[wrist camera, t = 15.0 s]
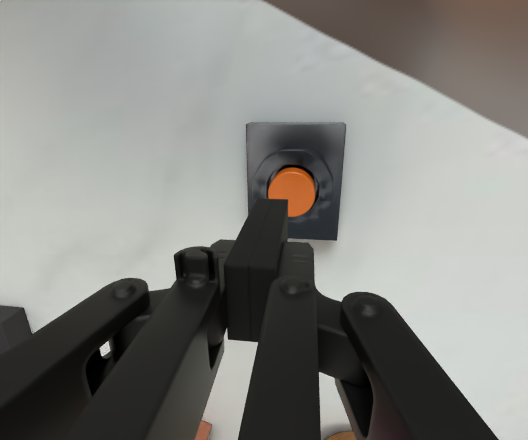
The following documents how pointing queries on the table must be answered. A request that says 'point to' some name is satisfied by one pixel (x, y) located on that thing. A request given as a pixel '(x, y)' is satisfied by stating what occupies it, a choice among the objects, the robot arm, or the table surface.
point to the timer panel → (12, 327)
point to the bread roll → (343, 436)
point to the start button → (293, 190)
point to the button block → (303, 157)
